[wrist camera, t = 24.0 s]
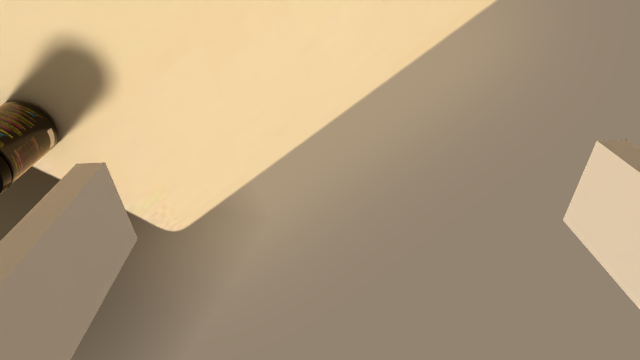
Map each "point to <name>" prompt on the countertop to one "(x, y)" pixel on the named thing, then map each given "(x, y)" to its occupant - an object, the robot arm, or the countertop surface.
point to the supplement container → (23, 139)
